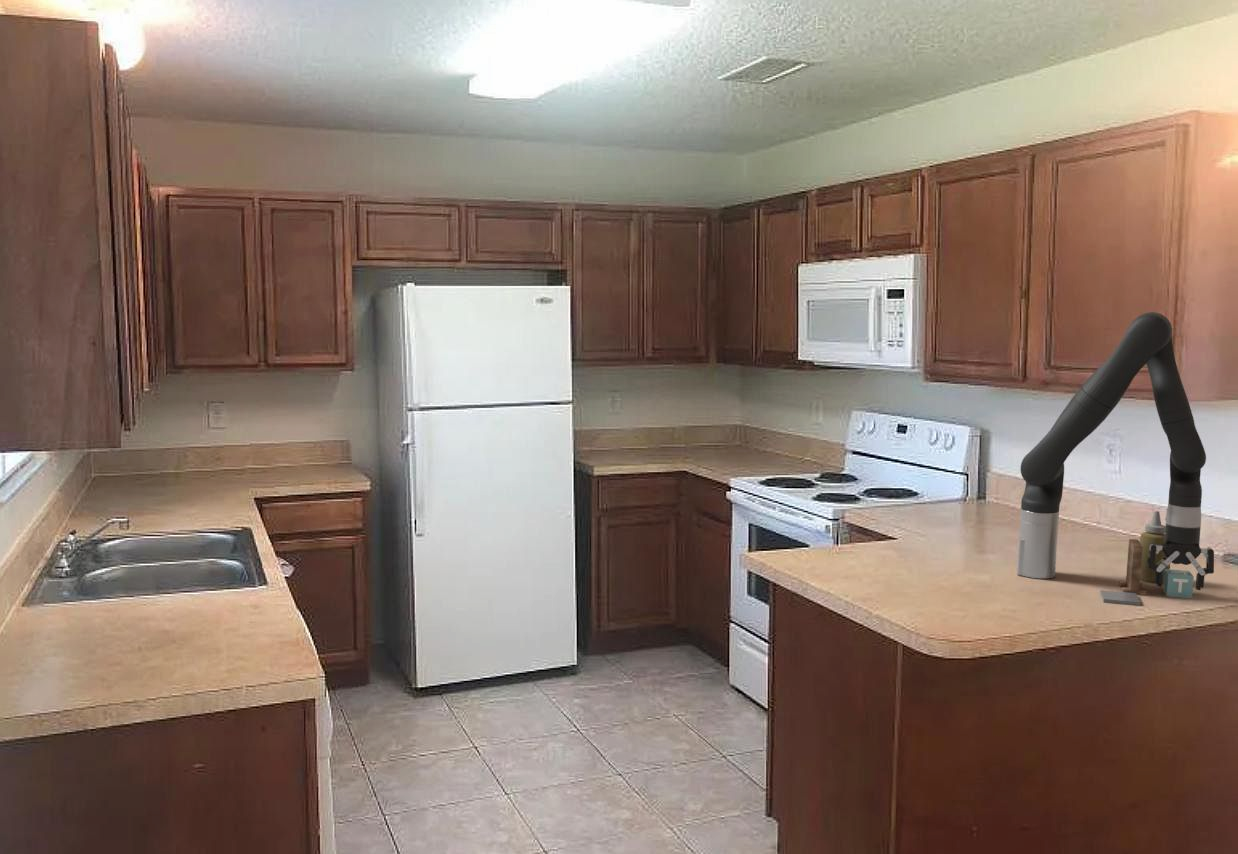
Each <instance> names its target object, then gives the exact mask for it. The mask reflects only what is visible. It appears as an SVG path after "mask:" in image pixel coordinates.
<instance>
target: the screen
mask: <svg viewBox="0 0 1238 854" xmlns="http://www.w3.org/2000/svg"><path fill="white" fill-rule="evenodd" d="M1139 541H1140V540H1139V539H1136V538H1135V539H1133V538H1132V539H1131V538H1129V539H1128V549H1127V550H1128V551H1127V563H1126V576H1125V577H1126V578H1125V581H1123V580H1122V581H1121V580H1119V584H1118V585H1119V587H1121V588H1122V589H1121V590H1122V591H1121V592H1127V593H1136V594H1137V596H1139V595H1141V596H1146V595H1147V590H1146V589H1145V588H1143V583H1142V582H1141V579H1140V576H1141V562H1142V549H1143V547H1142V545H1141V544H1140V542H1139Z"/></svg>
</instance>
